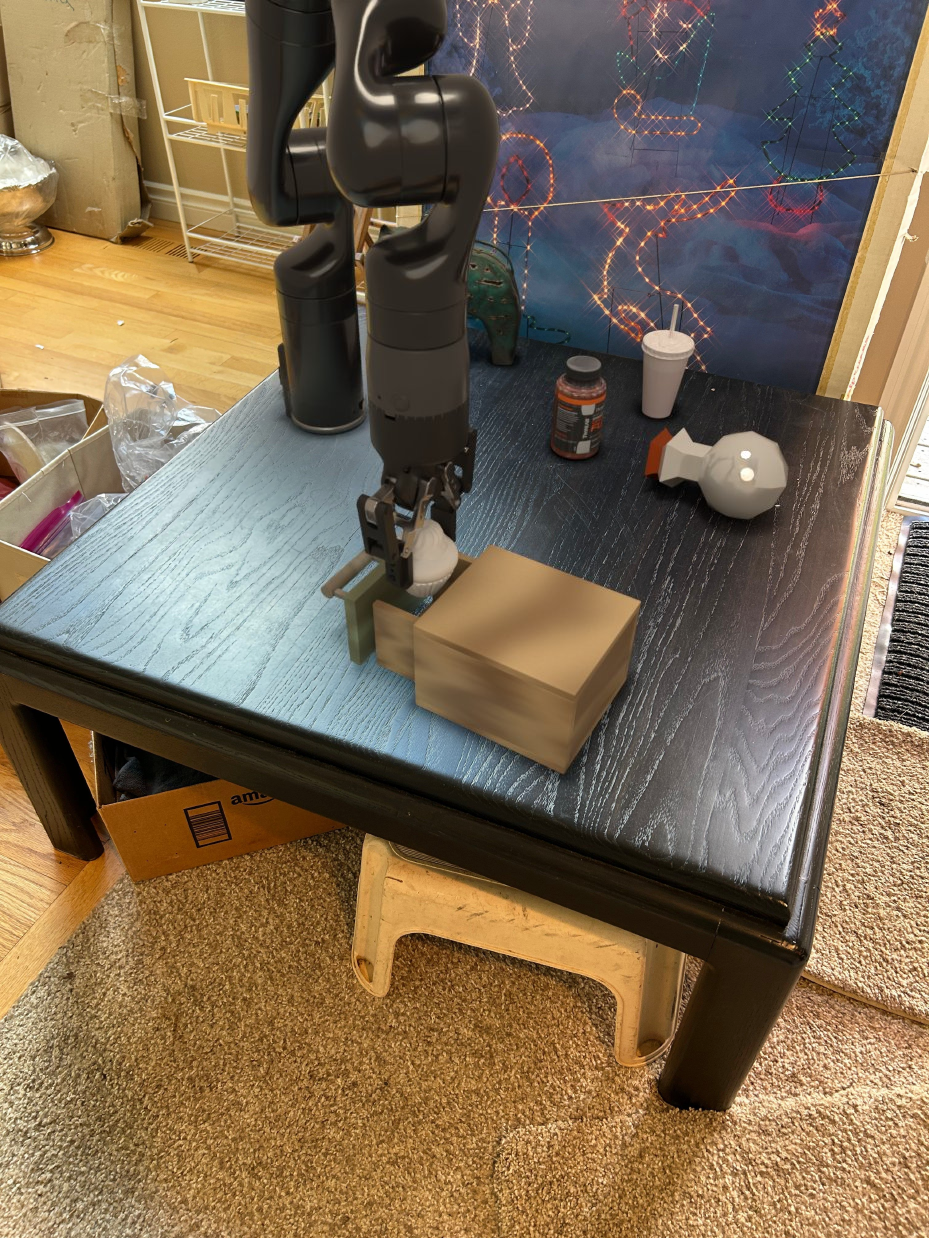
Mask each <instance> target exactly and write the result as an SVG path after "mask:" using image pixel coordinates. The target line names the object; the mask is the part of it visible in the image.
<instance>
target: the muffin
mask: <svg viewBox="0 0 929 1238" xmlns="http://www.w3.org/2000/svg"><path fill="white" fill-rule="evenodd" d="M402 535H403V529H402V528H401V532H400V533H399V534H398V535H396V536H397V539H400V540H402ZM411 552H413V585H412V586H411V587H410V588H409V589H407V590H406V591H407V592H408V593H410V594H411V595H414V596H416V597H427V598H429V597H432V595H435V594H436V593H438V592H439V591H440V589H441V588H442V587H443V585H444V584H445V583H446V581H447V580H448V579H449V577H450V576H451V574H452V573H453V571H454V570H453V569H454V568H455V567H456V565H457V562H458V552H459V550H458V547H457V544H456V542H455V543H454V542H453V541H452V540H451V539H450V538H449V537H448V536H446V535H445V534H444V533H443V530H442V528H441V526H440V525H439V524H438V523H437V522H435V521H433V520H432V519H430V518H427V517H425V520H424V524H423V527H422V529H420V530H417V531H416V533H415V537H414V542H413V546H412V550H411Z"/></svg>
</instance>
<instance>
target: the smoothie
mask: <svg viewBox="0 0 929 1238" xmlns="http://www.w3.org/2000/svg"><path fill="white" fill-rule="evenodd" d="M679 308H680V305H679V304H676V303H675V304H673V310H672V315H671V322H670V327H669V329H659V330H653V331H651V332H648V333H646V334H645V335H644V336H643V338H642V342H641V349H642V352H643V362H642V363H643V364H642V365H643V367H642V395H641V396H642V397H641V398H642V399H641V400H642V401H641V412H642V413H643V414H644V415H645V416H647V417H649V418H653V419H664V418H667V417H669V416H670V415H671V413H672V410H673V407H674V404H675V400H676V398H677V395H678V392H679V389H680V387H681V382H682V381H683V380H682V379H683V377H684V373H685V371H686V368H687V365H688V363H689V358H690V357H691V356H692V355H693V354H694V352H695V351H694V350H695V349H694V348H695V341H694V340H693V338H692V337H691V336H689V335H688V334H686V333H683V332H681V331H677V330H675V329H676V324H677V318H678V313H679Z"/></svg>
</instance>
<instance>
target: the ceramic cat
mask: <svg viewBox="0 0 929 1238" xmlns="http://www.w3.org/2000/svg"><path fill="white" fill-rule="evenodd" d="M430 209H431V208H429V209H427V210H425V211H423V213H422V214H421V216H420V221H419V223H420V222H421V221H423V220H424V218H425V216H426V215H427V214H428V213H429V211H430ZM408 228H409V227H408V226H401V225H400V226H395V227H393V228H391V227H389V226H388V225H387V224H385V223H384V224H382V225H381V226H380V228H379V232H378V238H377V241H378V240H380V239H382V238H385V237H387V236H389V235H392V234H395V233H398V232H400V231H403V230H406V229H408ZM475 243H476V244H480V245H483V246H485V247H483V246H480V245H476V244H474V248H473V252H472V257H471V261H470V267H469V273H468V305H467V316H471V317H474V318H476V319H478V320H479V321H480V322H481V323H482V325H483V326H484V329H485V331H486V333H487V336H488V340H489V342H490V348H491V349H490V351H491V362H492V363H493V365H497V366H512V364H513V363H514V359H515V357H516V351H517V344H518V339H519V334H520V329H521V321H522V309H521V298H520V297H521V296H520V291H519V287H518V284H517V281H516V276H515V268H514V266H513V263H512V260H511V258H510V256H509V255H508V254H507V252H506V251H505V250H504V249H503V248H502V247H501V246H499V245H497V244H495V243H493V242H490V241H487V240H484V239H483V240H482V239H478V238H476V239H475ZM487 247H490V248H492V249H494V250H497V252H499V253H500V254H501V255H502V256H503V257H504V258H505V259H506V260H507V261H508V264H509V265H508V264H507V262H506V261H505V259H503V258H502V257H501V256H499V255H498V254H497V253H495V252H494V251H493V250H491V249H489V248H487Z"/></svg>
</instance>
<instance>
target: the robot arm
mask: <svg viewBox="0 0 929 1238" xmlns="http://www.w3.org/2000/svg"><path fill="white" fill-rule="evenodd" d="M243 2H244V16H245V28H246V29H245V30H246V43H247V44H246V45H247V59H248V60H247V61H248V99H247V100H248V104H247V122H246V138H245V178H246V186H247V187H246V188H247V193H248V198H249V201H250V204H251V207H252V210H253V212H254V214H255V216H256V218H258V220H259V221H260V222H261V223H262V224H264V225H265V226H268V227H270V228H271V227H272V228H279V229H281V228H294V227H301V226H310V225H315V227H314V228H313V230H311V232H310V233H309V234H307V236H305V237H304V238H303V239H302V240H300V241H298V242H297V243H295V244H293V245H291V246H290V247H288V248H286V249H284V250H283V251H282V252H280V253H279V254H278V255H277V257H276V258H275V259H274V262H273V271H272V272H273V279H274V286H275V294H276V302H277V308H278V310H277V311H278V315H279V317H278V318H279V324H280V332H281V338H282V339H281V340H282V342H280V344H278V345H277V357H278V364H279V366H278V367H277V371H278V379H279V385H281V387H282V393H283V401H284V408H285V415H286V417H287V418H291V421H292V422H293V424H294V425H295V426H296V427H297V428H298V429H300V430H303V431H305V432H308V433H312V434H319V435H332V434H339V433H344V432H347V431H350V430H353V429H355V428H356V427H358V426H359V425H361V424H362V423H363V422H364V420H365V418H366V416H367V412H366V411H367V410H366V404H367V406H368V421H369V436H370V443H371V445H372V448H373V449H374V450H375V451H376V453H377V454H378V456H379V457H380V459H381V461H382V463H383V466H382V472H381V476H380V487H379V488H378V489H377V490H376V492H375V493H373V495H372V496H370V495H369V494H365V493H361V494H360V495H359V496H358V497H357V500H356V511H357V516H358V521H359V527H360V531H361V537H362V542H363V549H364V548H365V553H366V554H368V555H371V556H375V557H377V558H380V559H382V560H384V561H385V569H386V570H385V572H386V580H387V582H390V583H391V584H393V585H395V586H398V587H400V588H402V589H405V590H407V589H409V588H410V587H411V586H412V585H413V552H411V550H412V546H413V542H414V537H415V533H416V531H417V530H420V529H422V527H423V524H424V520H425V518H426V516H427V511H428V507H429V511H430V512H429V513H430V514H429V517H430V518H429V519H432V520H433V521H435V522H437V523H438V524H439V525H440V526H441V528H442V530H443V533H444V534H445V535H446V536H448V537H449V538H450V539H451V540H452V541H453V542H454V543H455V544H456V542H457V510H459V509H460V507H461V505H462V499H463V498H462V495H463V493H464V494H469V493H470V492H471V490H472V489H473V482H474V473H475V462H476V452H477V443H478V429H477V428H474V427H471V426H469V425H470V424H469V423H470V385H471V384H470V379H471V370H470V369H471V356H470V347H469V339H468V314H467V305H468V273H469V267H470V261H471V257H472V252H473V248H474V245H476V244H475V239H477V234H478V231H479V227H480V223H481V220H482V217H483V214H484V210H485V208H486V205H487V201H488V198H489V194H490V191H491V188H492V184H493V182H494V179H495V178H494V177H495V174H496V170H497V166H498V162H499V156H500V149H501V124H500V123H501V122H500V118H499V112H498V109H497V106H496V104H495V101H494V99H493V97H492V95H491V93H490V92H489V90H488V89H487V87H486V86H485V85H484V84H483V83H482V82H481V80H479V79H478V78H476V77H474V76H473V75H471V74H466V73H465V74H464V73H437V74H435V73H434V74H431V75H430V74H417V75H416V74H415V75H402V74H406V73H407V72H410V71H413V70H415V69H417V68H419V67H421V66H423V65H424V64H427V63H428V62H429V61H430V60H432V59H433V58H434V57H435V56H436V55H437V54H438V53H439V51H440V50H441V49H442V47H443V45H444V43H445V41H446V37H447V32H448V27H449V26H448V25H449V18H448V17H449V16H448V7H447V2H446V0H244V1H243ZM332 72H333V82H332V88H331V96H330V101H329V108H328V115H327V121H326V126H312V127H311V126H310V127H302V128H301V127H300V128H293V127H294V125H295V123H296V121H297V119H298V117H299V115H300V114H301V112H302V111H303V109H304V108H305V106H306V105H307V103H308V102H309V101H310V100H311V99H312V97H314V95H315V93H316V92H317V91H318V90H319V89H320V87H321V86H322V85H323V83H324V82H325V81H326V80H327V79H328V77H329V76H330V74H332ZM354 205H355V206H357V207H359V208H364V209H387V208H397V207H399V208H400V207H412V206H413V207H414V206H427V205H432V206H431V207H430V208H429V209H430V211H429V212H428V213H426V215H425V216H424V218H423V220H422V221H421V222H420V221H419V222H418V223H416V224H415V225H413V226H411V227H407V228H408V229H406V230H403V231H400V232H398V233H395V234H392V235H389V236H387V237H385V238H382V239H380V240H378V239H377V240H376V241H375V242H374V243H373V244H371V245H370V247H369V248H368V249H367V251H366V252H365V256H364V259H363V285H364V286H363V287H364V297H365V300H364V302H365V314H366V315H365V317H366V318H365V319H366V345H365V346H366V347H365V374H366V375H365V376H366V390H367V394H365V393H364V377H363V376H364V375H363V363H362V351H361V350H362V349H361V334H360V321H359V320H360V319H359V307H358V293H357V278H356V277H357V276H356V245H355V244H356V243H355V219H354V218H355V216H354V214H355V212H354V211H355V210H354V209H355V207H354ZM456 467H459V468H460V469H461V476H460V475H458V474H456ZM431 502H433V503H432V504H431ZM430 504H431V505H430ZM429 505H430V506H429ZM396 506H397V507H398V508H400V509H403V510H406V511H408V512H412V516H408V515H407V514H406V515H405V514H403V513H401V512H398V511H397V510H396ZM396 527H399V528H401V530H402V529H403V535H402V540H400V539H397V536H398V535H397V529H396Z"/></svg>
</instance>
